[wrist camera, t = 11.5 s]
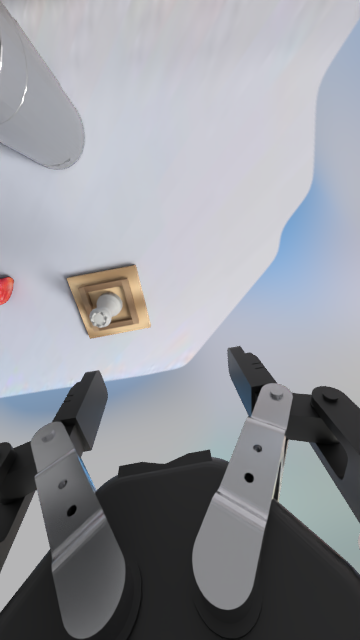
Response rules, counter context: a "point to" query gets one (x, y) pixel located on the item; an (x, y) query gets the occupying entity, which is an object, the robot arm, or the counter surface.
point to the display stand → (118, 283)
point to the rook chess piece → (105, 309)
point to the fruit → (5, 289)
